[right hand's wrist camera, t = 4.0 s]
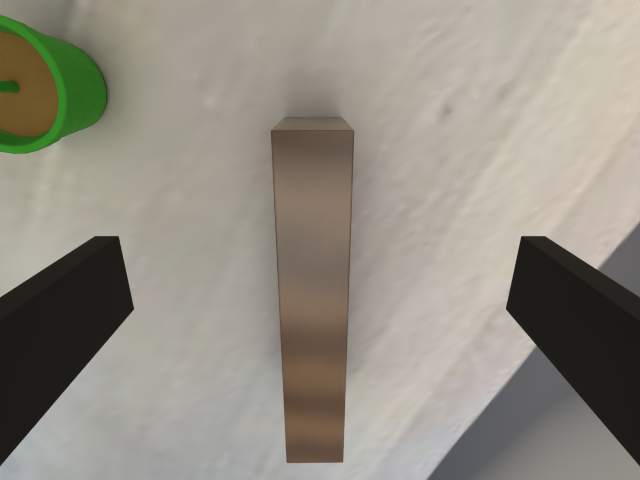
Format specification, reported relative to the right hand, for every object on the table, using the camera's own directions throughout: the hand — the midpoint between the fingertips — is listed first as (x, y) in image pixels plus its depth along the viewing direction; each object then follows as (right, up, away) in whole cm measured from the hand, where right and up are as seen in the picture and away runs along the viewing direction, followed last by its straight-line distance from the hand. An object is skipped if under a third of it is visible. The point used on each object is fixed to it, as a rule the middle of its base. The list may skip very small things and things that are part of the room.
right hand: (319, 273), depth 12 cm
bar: (0, -1, +22) cm, 22 cm away
